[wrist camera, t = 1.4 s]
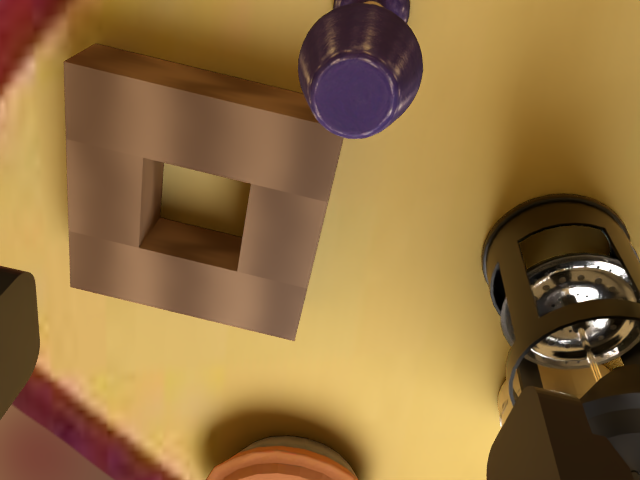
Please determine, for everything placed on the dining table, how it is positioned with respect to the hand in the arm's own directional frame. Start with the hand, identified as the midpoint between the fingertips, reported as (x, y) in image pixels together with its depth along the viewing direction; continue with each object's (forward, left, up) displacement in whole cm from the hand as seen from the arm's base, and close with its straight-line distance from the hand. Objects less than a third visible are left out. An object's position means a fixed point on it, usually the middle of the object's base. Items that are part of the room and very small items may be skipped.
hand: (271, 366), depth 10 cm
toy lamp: (0, -1, -29) cm, 29 cm away
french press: (-16, +12, -29) cm, 35 cm away
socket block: (+8, +14, -28) cm, 32 cm away
